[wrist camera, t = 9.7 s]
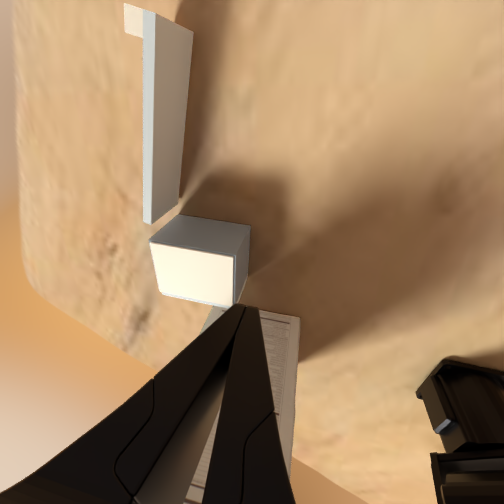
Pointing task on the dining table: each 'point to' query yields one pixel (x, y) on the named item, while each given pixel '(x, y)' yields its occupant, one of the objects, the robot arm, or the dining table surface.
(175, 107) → the flap
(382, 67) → the dining table surface
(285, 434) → the supplement box
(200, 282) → the carton
